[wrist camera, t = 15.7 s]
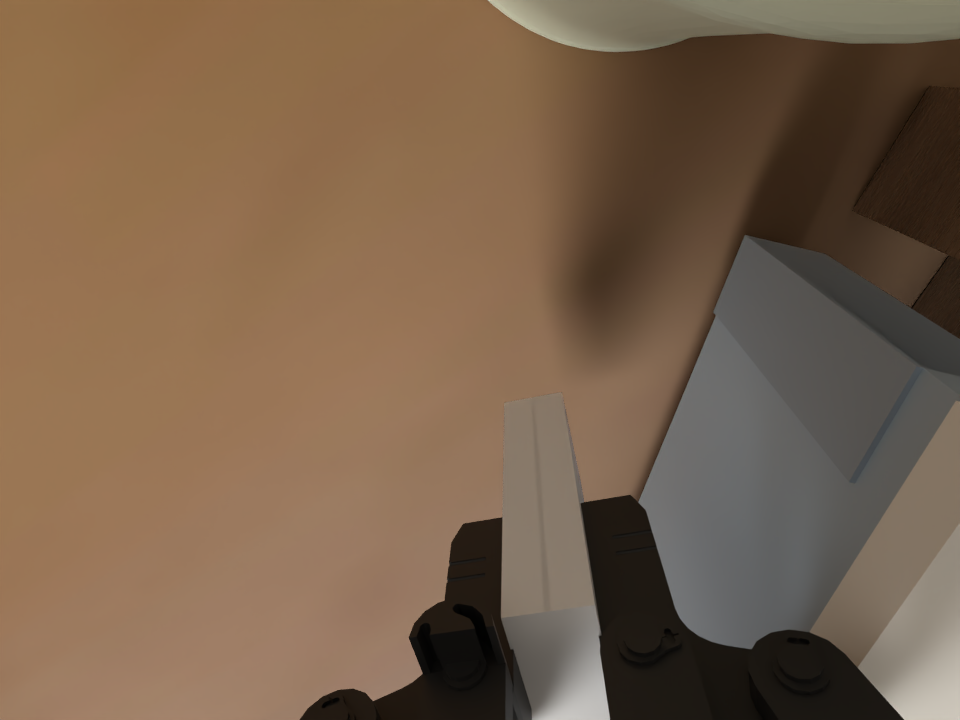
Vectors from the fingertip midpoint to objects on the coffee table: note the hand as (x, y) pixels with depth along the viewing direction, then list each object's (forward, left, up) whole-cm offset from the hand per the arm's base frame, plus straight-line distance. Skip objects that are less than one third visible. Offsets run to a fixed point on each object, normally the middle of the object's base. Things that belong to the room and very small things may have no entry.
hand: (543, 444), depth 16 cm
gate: (+5, -4, -2) cm, 7 cm away
